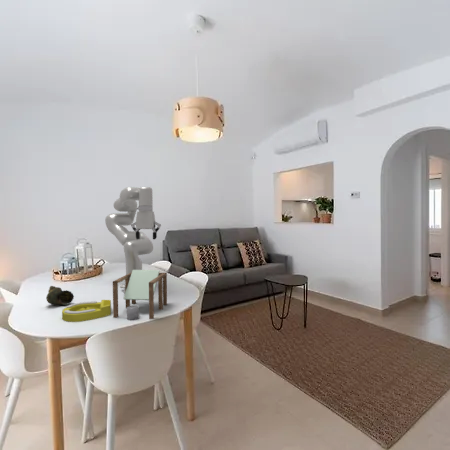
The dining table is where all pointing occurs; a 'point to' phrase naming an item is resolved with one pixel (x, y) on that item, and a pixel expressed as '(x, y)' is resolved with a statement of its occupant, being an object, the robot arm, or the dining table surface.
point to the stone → (132, 312)
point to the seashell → (59, 296)
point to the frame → (161, 293)
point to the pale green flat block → (140, 284)
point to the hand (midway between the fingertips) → (146, 239)
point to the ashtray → (86, 311)
